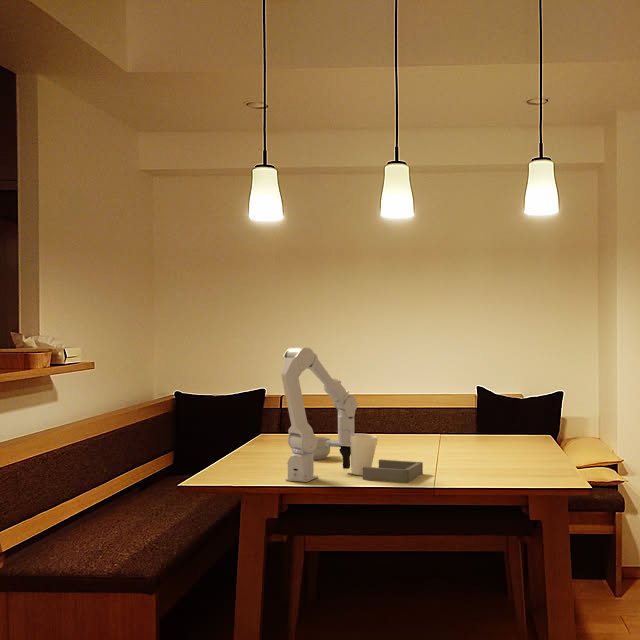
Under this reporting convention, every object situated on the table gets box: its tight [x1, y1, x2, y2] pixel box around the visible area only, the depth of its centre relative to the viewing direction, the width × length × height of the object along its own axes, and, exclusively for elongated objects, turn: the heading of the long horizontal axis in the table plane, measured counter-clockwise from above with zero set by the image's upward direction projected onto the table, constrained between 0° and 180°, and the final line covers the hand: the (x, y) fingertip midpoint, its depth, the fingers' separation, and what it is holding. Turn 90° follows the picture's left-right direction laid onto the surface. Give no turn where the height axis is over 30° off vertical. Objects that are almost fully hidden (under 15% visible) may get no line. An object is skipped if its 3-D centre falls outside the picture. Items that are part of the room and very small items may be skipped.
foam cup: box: [350, 433, 378, 476], centre depth 284 cm, size 10×9×13 cm
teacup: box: [313, 436, 331, 461], centre depth 318 cm, size 14×11×8 cm
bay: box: [362, 459, 424, 484], centre depth 279 cm, size 17×16×4 cm
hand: (346, 468), depth 286 cm, fingers closed, pressing on foam cup
